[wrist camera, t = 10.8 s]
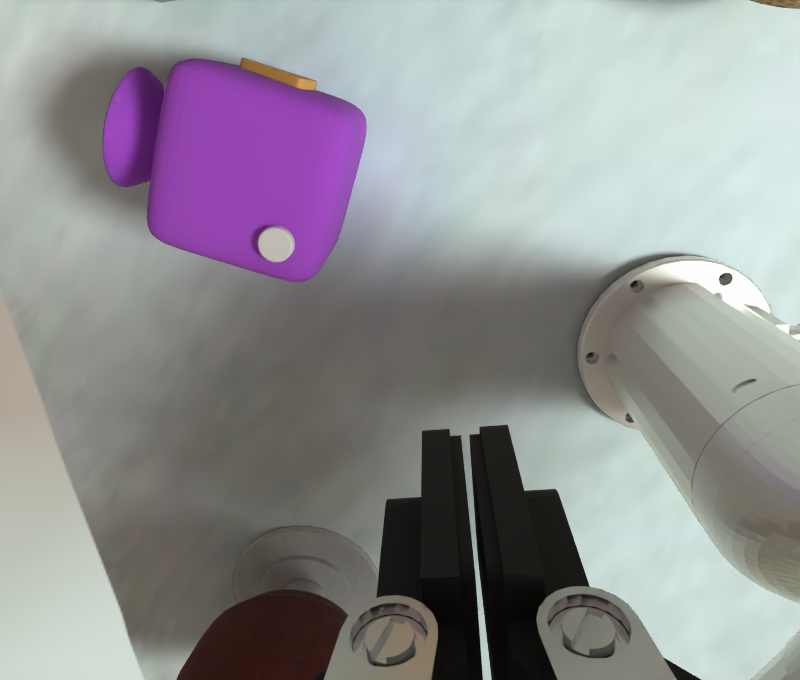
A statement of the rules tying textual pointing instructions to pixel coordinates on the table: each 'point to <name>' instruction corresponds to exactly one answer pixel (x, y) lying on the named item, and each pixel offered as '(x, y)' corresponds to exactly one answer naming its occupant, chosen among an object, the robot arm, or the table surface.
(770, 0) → the natural sponge
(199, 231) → the toy camera
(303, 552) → the mate gourd
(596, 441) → the table surface
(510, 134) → the table surface
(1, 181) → the table surface
